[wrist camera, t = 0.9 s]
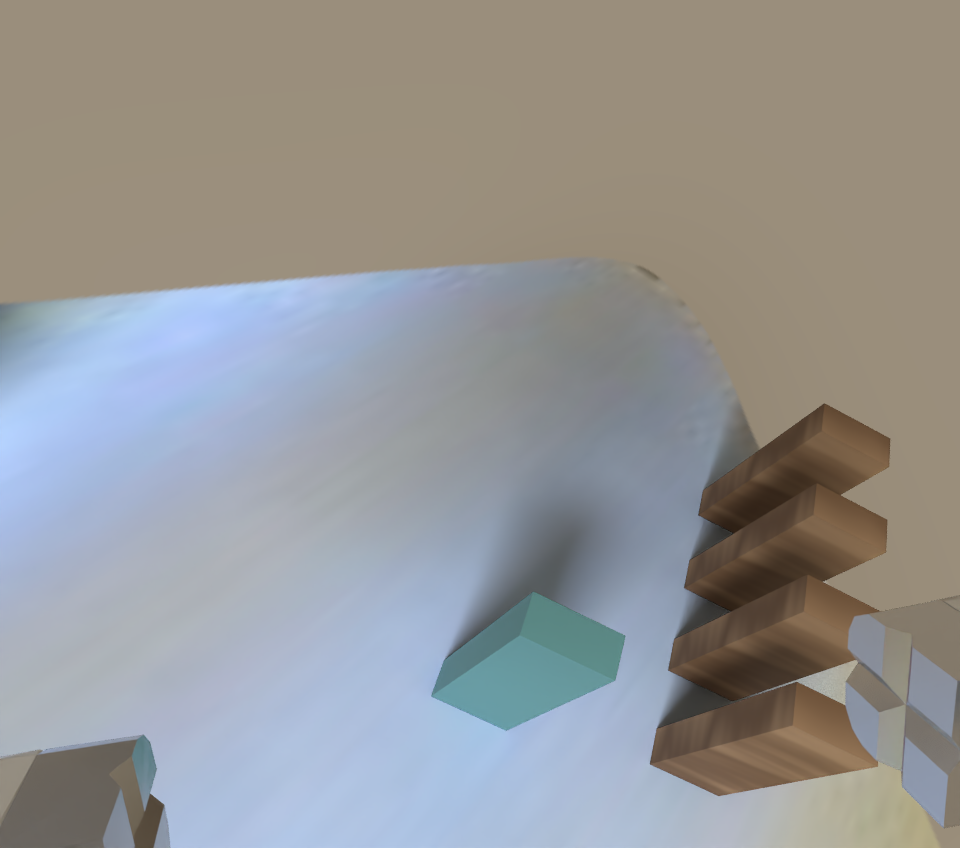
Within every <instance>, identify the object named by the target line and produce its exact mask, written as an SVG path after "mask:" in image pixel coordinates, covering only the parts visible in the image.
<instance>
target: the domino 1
mask: <svg viewBox="0 0 960 848" xmlns="http://www.w3.org/2000/svg"><path fill="white" fill-rule="evenodd" d="M624 640H625V635H623V634H621V633H618V632H616V631H614V630H612V629H610V628H608V627H606V626H604V625H602V624H600V623H598V622H596V621H594V620H592V619H589V618H587V617H585V616H583V615H581V614H579V613H577V612H575V611H573V610H571V609H569V608H567V607H565V606H562V605H560V604H558V603H556V602H554V601H552V600H550V599H548V598H546V597H544V596H542V595H540V594H538V593H535V592H532V593H531V594H530V595H528V596H527V597H526V598H524V599H523V600H522V601H520V602H519V603H518V604H517V605H515V606H514V607H513V608H511V609H510V610H509V611H507V612H506V613H505V614H504V615H502V616H501V617H500V618H498V619H497V620H496V621H495V622H493V623H492V624H491V625H489V626H488V627H487V628H485V629H484V630H483V631H482V632H480V633H479V634H478V635H476V636H475V637H474V638H473V639H471V640H470V641H469V642H467V643H466V644H465V645H463V646H462V647H461V648H460V649H458V650H457V651H456V652H454V653H453V654H452V655H451V656H449V657H448V658H447V659H445V660H444V662H443V665H442V668H441V670H440V673H439V676H438V679H437V681H436V684H435V687H434V690H433V692H432V695H431V696H432V697H434V698H436V699H438V700H440V701H443V702H445V703H447V704H449V705H451V706H454V707H456V708H458V709H460V710H462V711H464V712H467V713H469V714H471V715H473V716H475V717H478V718H480V719H482V720H484V721H486V722H488V723H491V724H493V725H495V726H497V727H499V728H502V729H504V730H506V731H507V730H509V729H511V728H513V727H515V726H517V725H520V724H522V723H524V722H526V721H528V720H530V719H533V718H535V717H537V716H539V715H541V714H544V713H546V712H548V711H550V710H552V709H554V708H557V707H559V706H561V705H563V704H565V703H567V702H570V701H572V700H574V699H576V698H578V697H580V696H583V695H585V694H587V693H589V692H591V691H594V690H596V689H598V688H600V687H602V686H604V685H607V684H609V683H611V682H613V681H615V679H616V675H617V671H618V666H619V662H620V658H621V653H622V649H623V645H624Z"/></svg>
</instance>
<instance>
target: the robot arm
mask: <svg viewBox="0 0 960 848" xmlns="http://www.w3.org/2000/svg"><path fill="white" fill-rule="evenodd" d="M848 650H849V651H850V652H851V654H852V655H853V656H854V657H855V659H856V660H857V661H858V664H857V665H856V667H855V668H854V670H853V671H852V673H851V674H850V676H849V677H848V679H847V680H846V709H847V713H848V716H849V719H850V723H851V726H852V729H853V731H854V733H855V734H856V736H857V738H858V739H859V741H860V743H861V744H862V746H863V747H864V748H865V749H866V750H867V751H868V752H869V753H870V754H871V755H872V757H873V758H874V759H875V760H876V761H879V762H881V763H883V764H886V765H888V766H890V767H893V768H895V769H898V770H900V771H901V773H902V787H903V788H904V789H905V790H906V791H907V792H908V793H909V794H910V795H911V796H912V797H913V798H914V799H915V800H916V801H917V802H918V803H919V804H920V805H921V806H922V807H923V808H924V809H925V810H926V811H927V812H928V813H929V814H930V815H931V816H932V817H933V818H934V819H935V820H936V821H937V822H938V823H939V824H940V825H941V826H942V827H943V828H948V827H953V826H959V825H960V595H959V596H953V597H949V598H944V599H939V600H934V601H931V602H927V603H922V604H917V605H911V606H906V607H901V608H896V609H891V610H885V611H880V612H875V613H870V614H865V615H860V616H855V617H854V619H853V621H852V623H851V626H850V628H849V635H848ZM156 770H157V768H156V764H155V760H154V756H153V752H152V748H151V744H150V742H149V740H148V739H147V738H146V737H145V736H144V735H138V736H131V737H124V738H118V739H111V740H104V741H97V742H91V743H84V744H77V745H70V746H64V747H57V748H50V749H46V750H44V751H42V750H35V751H29V752H24V753H18V754H13V755H7V756H1V757H0V848H170V839H169V827H168V821H167V816H166V811H165V806H164V804H163V803H161V802H160V801H159V800H158V799H156V798H155V797H154V796H153V795H151V794H150V791H151V788H152V784H153V781H154V777H155V773H156Z"/></svg>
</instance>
